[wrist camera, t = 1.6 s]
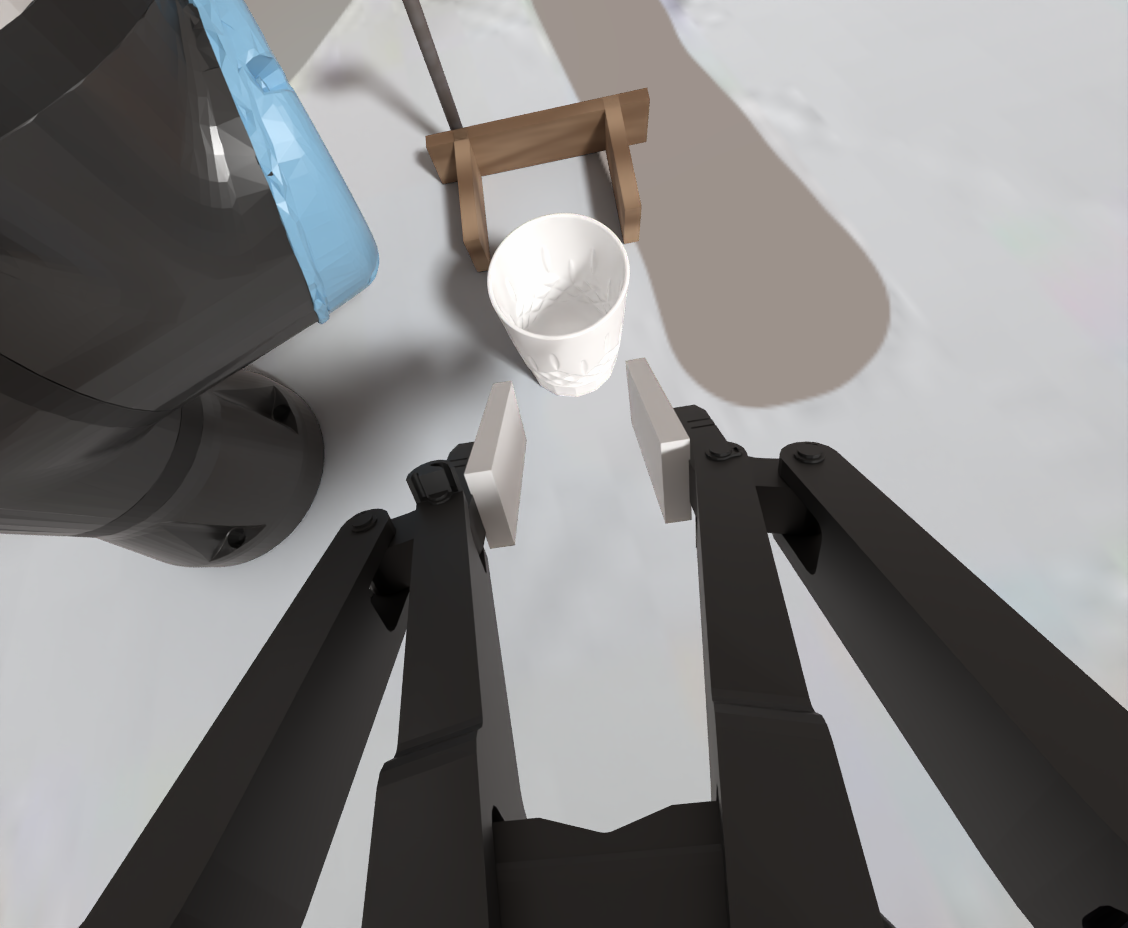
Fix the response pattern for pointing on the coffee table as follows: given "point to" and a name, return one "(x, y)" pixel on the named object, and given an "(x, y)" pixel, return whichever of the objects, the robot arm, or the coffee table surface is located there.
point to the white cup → (562, 299)
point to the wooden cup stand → (531, 145)
